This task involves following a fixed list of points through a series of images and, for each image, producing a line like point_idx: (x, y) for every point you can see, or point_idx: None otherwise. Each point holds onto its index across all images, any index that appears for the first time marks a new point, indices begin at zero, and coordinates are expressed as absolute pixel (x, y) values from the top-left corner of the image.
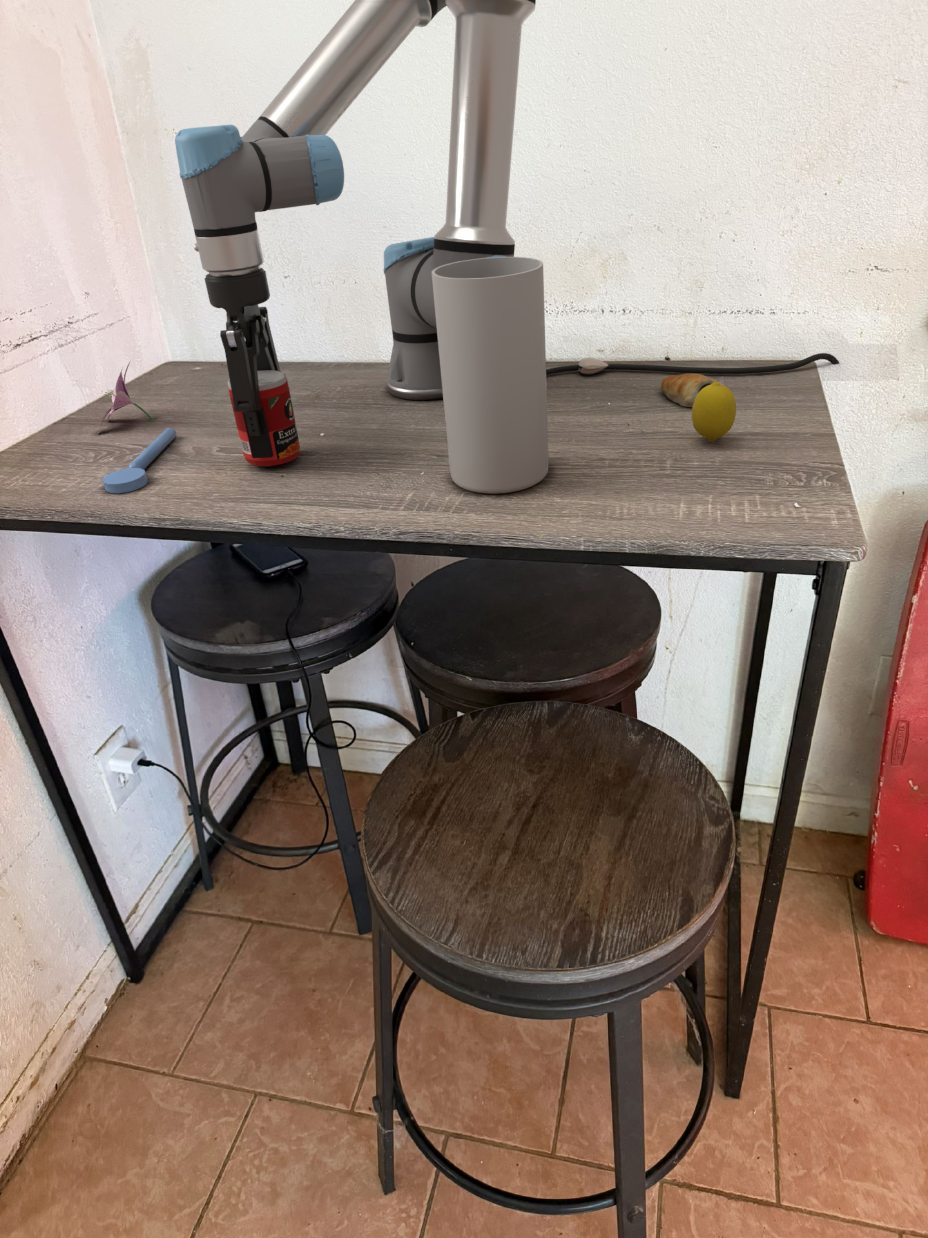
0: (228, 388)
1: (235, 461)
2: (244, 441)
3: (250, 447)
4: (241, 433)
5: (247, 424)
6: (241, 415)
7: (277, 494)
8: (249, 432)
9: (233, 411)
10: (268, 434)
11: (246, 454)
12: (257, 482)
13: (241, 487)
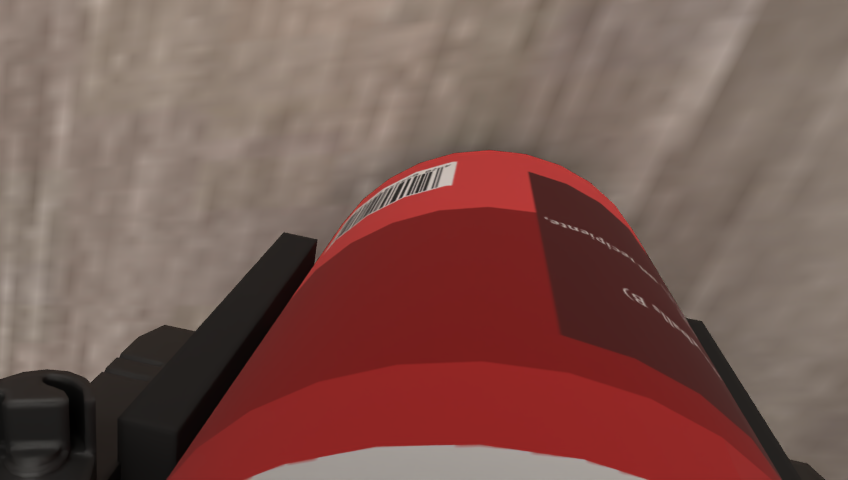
0: (339, 447)
1: (592, 59)
2: (350, 226)
3: (259, 261)
4: (355, 236)
5: (97, 379)
6: (259, 350)
7: (69, 298)
8: (138, 343)
9: (411, 272)
10: None
11: (380, 188)
12: (225, 206)
13: (175, 127)
